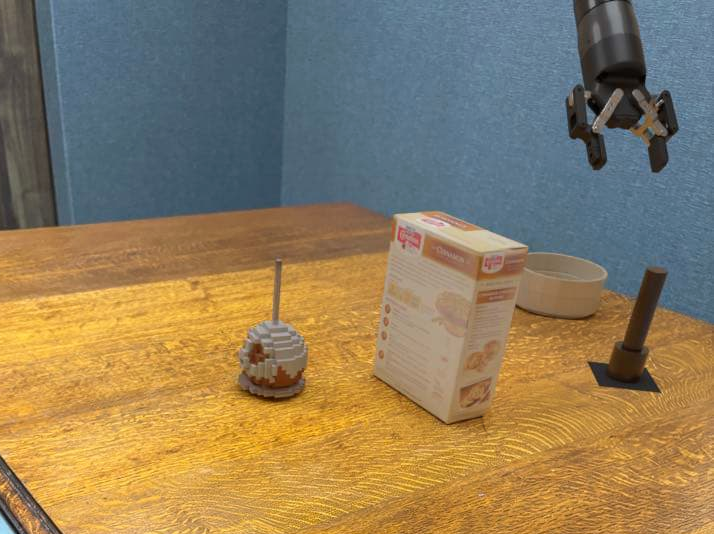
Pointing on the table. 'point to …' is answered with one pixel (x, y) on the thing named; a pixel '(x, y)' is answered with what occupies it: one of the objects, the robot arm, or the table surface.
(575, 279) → the bowl
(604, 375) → the coaster
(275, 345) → the decorative ornament
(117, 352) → the table surface
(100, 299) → the table surface
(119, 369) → the table surface
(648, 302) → the pestle
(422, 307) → the coffeecake box
